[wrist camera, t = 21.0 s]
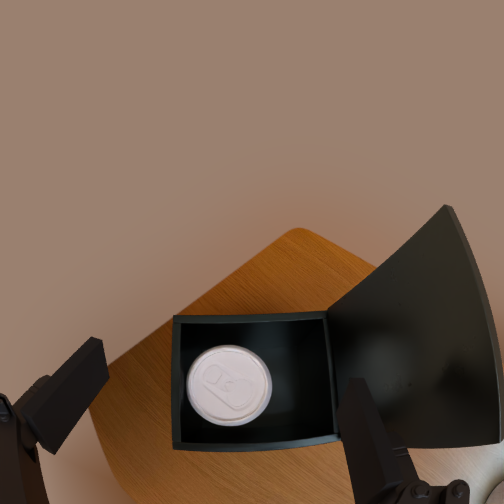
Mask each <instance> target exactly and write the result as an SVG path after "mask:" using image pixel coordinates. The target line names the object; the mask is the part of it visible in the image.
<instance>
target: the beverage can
mask: <svg viewBox="0 0 504 504" xmlns="http://www.w3.org/2000/svg"><path fill="white" fill-rule="evenodd" d="M186 392H187V396H188V399H189V401H190V403H191V405H192V407H193V408H194V409H195V411H196V412H197V413H198V414H199V415H200V416H202V417H203V418H204V419H206V420H208V421H209V422H212V423H214V424H217V425H221V426H238V425H242V424H245V423H248V422H250V421H252V420H254V419H255V418H256V417H258V416H259V415H260V414H261V413H262V412H263V411H264V409H265V408H266V406H267V405H268V403H269V400H270V397H271V393H272V379H271V375H270V372H269V370H268V368H267V366H266V365H265V363H264V362H263V361H262V359H261V358H260V357H259V356H257V355H256V354H255V353H253V352H252V351H250V350H248V349H246V348H243V347H240V346H235V345H221V346H216V347H213V348H211V349H208V350H206V351H205V352H203V353H202V354H201V355H199V356H198V357H197V358H196V359H195V361H194V362H193V363H192V365H191V367H190V369H189V371H188V374H187V378H186Z"/></svg>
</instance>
